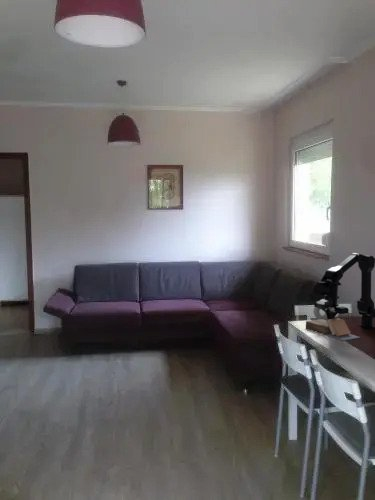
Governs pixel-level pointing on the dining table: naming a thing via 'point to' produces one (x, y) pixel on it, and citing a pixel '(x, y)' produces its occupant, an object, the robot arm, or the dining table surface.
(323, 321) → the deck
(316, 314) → the donut
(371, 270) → the robot arm
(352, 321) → the dining table surface
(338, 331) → the tile upper
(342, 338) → the mat
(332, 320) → the tile lower
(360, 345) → the dining table surface
